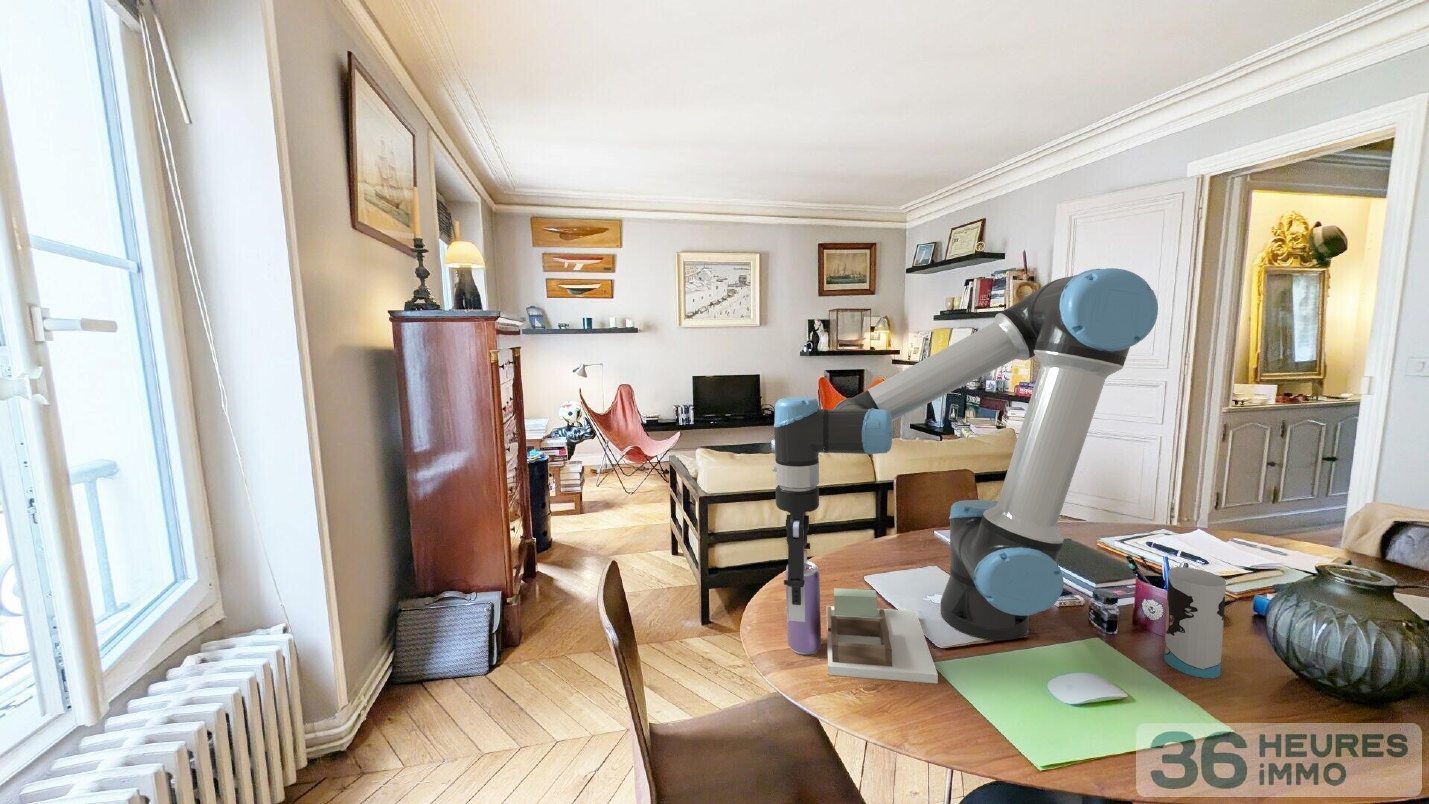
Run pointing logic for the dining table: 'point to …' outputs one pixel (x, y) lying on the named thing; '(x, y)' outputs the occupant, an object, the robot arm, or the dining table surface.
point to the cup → (1194, 621)
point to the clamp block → (855, 602)
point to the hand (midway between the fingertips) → (798, 600)
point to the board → (906, 650)
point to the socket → (860, 652)
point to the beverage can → (807, 615)
